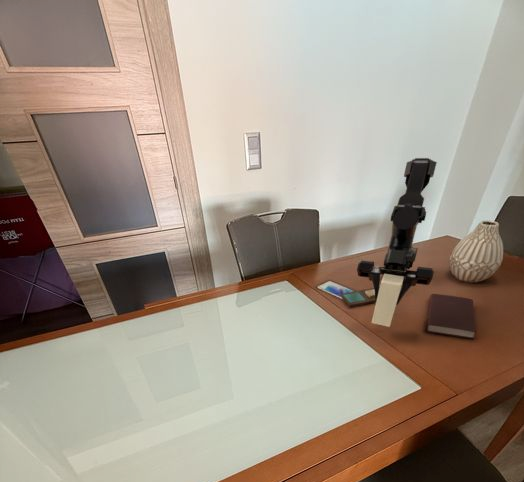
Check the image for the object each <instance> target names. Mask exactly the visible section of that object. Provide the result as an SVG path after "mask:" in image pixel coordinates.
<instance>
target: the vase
mask: <svg viewBox="0 0 524 482" xmlns="http://www.w3.org/2000/svg"><path fill="white" fill-rule="evenodd" d="M499 229H500V224H499V222H497V221H495V220H481V221H479V222H478V224H477V225H476V227H475V228H474V229H473V230H472V231H470V232H469V233H468V234H467V235H464V237H463V238H461V240H460V241H459V242H458V243H457V244H456V245H455V247H454V248H453V249H452V252H451V253H450V256H449V259H448V260H449V261H448V265H449V270H450V272H451V274H452V275H453V277H454V278H456V279H457V280H458V281H461V282H465V283H471V284H472V283H473V284H475V283H479V282H482V281H485V280H488V279H489V278H490V277H492V276H493V275H494V274H495V273H496V272H497V271H498V269H499V268H500V267H501V265H502V263H503V260H504V251H505V250H504V243H503V240H502V238H501V237H502V236H501V235H500V232H499V231H500V230H499Z"/></svg>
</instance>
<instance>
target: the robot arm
mask: <svg viewBox="0 0 524 482" xmlns="http://www.w3.org/2000/svg"><path fill="white" fill-rule="evenodd" d="M437 163H438V162H437V161H435V160H433V159H431V158H429V157H415V158H413V159H412V160H410V161H406V164H405V167H404V168H405V169H404V174H403V177H404V178H405V180H404V183H405V187H406V190H405V193H404V194H402V195H401V196H399V198H398V202H397V205H394V206H393V209H392V213H391V215H390V222H392V224H391V236H390V238H389V239H390V240H389V244H388V248H387V252H386V254H385V256H384V260H383V266H375V261H371V260H360V261H359V262H358V264H357V268H356V272H357V276H358V277H360V278H368V281H371V282H372V284H373V288H374V290H375V302H376V301H377V297H378V293H379V287H380V284H381V275H382V276H384V274H390V275H396V276H402V277H404V279H403V283H402V286H401V290H400V293H399V297H398V300H397V304H396V306H398V305H399V304H400V302H401V301H402V298H403V297H404V296H405V294H406V293H407V292H408V290H409V289H410V288H411V287H416V285H424V286H428V285H430V284H431V282H432V280H433V279H434V274H435V269H433V268H432V267H424V266H417V268H416V270H411V268H413V264H414V262H416V258H417V254H418V249H419V248H417V247H413V243H414V239H415V234H416V231H417V227H418V225H419V224H422V223H423V222H425V220H426V217H427V211H426V207H425V206H423V205H424V202H425V198H424V196H423V195H422V193H423V191H424V190H425V188H426V187H427V186H428V185H429V183H430V180H431V178H434V176H435V170H436V167H437Z"/></svg>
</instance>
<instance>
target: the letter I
mask: <svg viewBox="0 0 524 482" xmlns="http://www.w3.org/2000/svg"><path fill="white" fill-rule="evenodd" d="M403 279H404V277H402V276H396V275H390V274H384V275H382V278H381V280H380V284H379V287H380V289H379V293H378V297H377V301H376V303H375V306H374V310H373V314H372V319H371V324H375V325H379V326H383V327H388V328H390V327H391V324H392V322H393V321H392V320H393V319H394V315H395V310H396V306H397V305H396V304H397V300H398V297H399V293H400V291H401V288H402V286H403Z"/></svg>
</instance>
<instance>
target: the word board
mask: <svg viewBox="0 0 524 482" xmlns="http://www.w3.org/2000/svg"><path fill="white" fill-rule="evenodd" d="M379 289H380V286H379ZM354 291H355V292H349V293H344V294H340V296H341V297H342V299H341V300H342V301H344V303H345V304H346V305H347V307H348V308H353V307H359V306H364V305H369V304H376V302H375V290H374V287H372V288H371V287H370V288H367V289H361V290H354Z"/></svg>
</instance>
